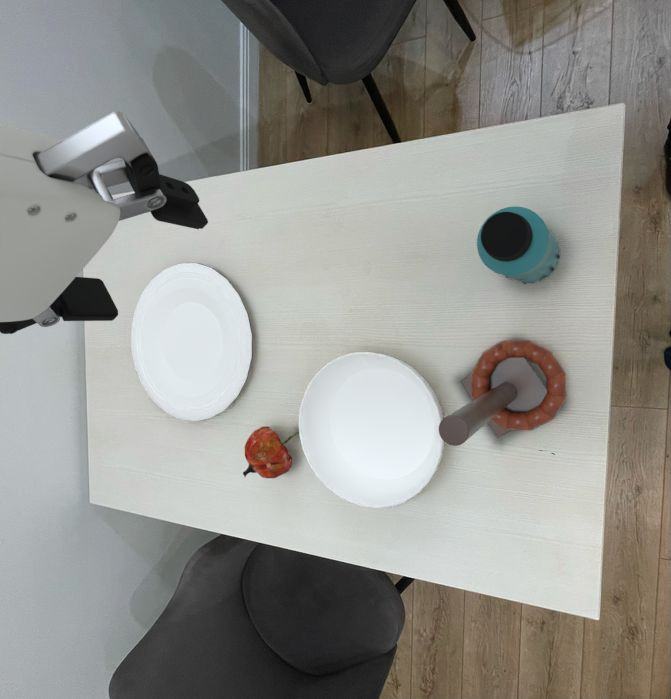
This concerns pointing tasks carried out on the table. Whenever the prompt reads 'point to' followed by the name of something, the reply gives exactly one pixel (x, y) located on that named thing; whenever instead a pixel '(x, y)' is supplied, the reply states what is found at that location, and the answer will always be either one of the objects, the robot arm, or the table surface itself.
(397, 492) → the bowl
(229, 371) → the plate
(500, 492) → the table surface
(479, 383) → the ring
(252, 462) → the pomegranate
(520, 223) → the beverage bottle
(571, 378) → the table surface
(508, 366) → the peg post
